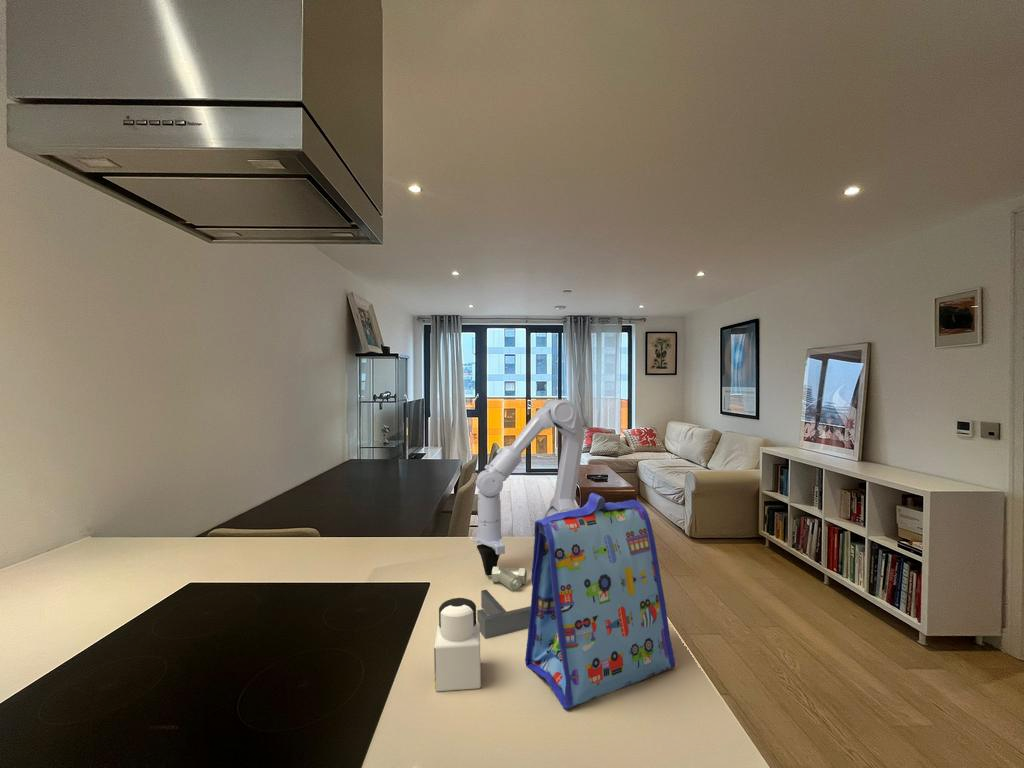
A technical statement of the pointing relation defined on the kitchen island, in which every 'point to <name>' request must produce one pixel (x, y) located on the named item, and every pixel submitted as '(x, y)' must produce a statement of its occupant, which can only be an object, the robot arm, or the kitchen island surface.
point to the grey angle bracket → (500, 617)
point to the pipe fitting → (510, 577)
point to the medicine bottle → (457, 646)
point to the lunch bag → (596, 601)
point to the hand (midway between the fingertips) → (490, 574)
